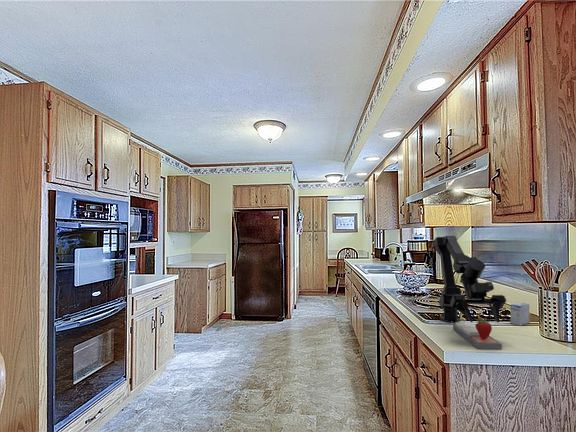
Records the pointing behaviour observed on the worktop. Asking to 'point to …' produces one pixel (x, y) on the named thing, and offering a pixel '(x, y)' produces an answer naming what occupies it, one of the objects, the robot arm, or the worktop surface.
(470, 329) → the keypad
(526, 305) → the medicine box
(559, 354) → the worktop surface
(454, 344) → the worktop surface
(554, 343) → the worktop surface
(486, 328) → the fruit
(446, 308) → the robot arm
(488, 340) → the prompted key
